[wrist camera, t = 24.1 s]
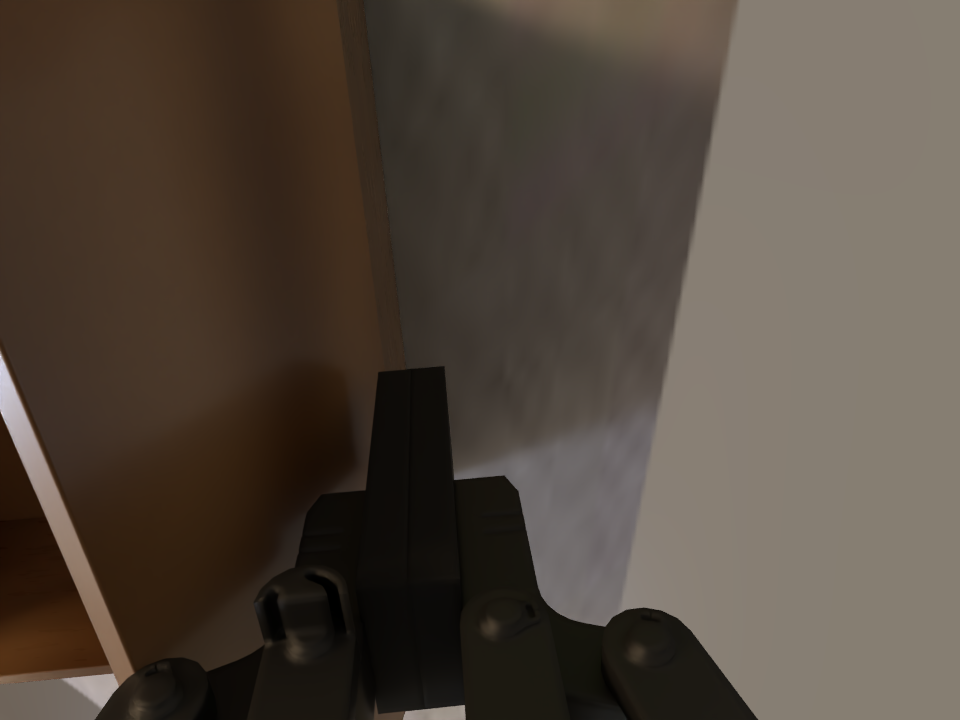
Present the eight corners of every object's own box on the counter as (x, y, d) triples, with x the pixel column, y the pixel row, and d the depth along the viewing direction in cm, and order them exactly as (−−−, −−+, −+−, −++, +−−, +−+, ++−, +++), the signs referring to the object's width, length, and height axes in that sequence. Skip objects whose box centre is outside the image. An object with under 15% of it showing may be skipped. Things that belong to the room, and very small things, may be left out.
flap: (308, -67, 13) (328, -69, 13) (411, 659, 22) (423, 661, 22) (-248, -152, 5) (-207, -158, 5) (269, 1037, 14) (287, 1042, 14)
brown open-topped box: (358, -43, 21) (323, -68, 14) (419, 485, 30) (418, 644, 23) (-292, -6, 20) (-706, -11, 13) (-27, 524, 29) (-180, 702, 22)
